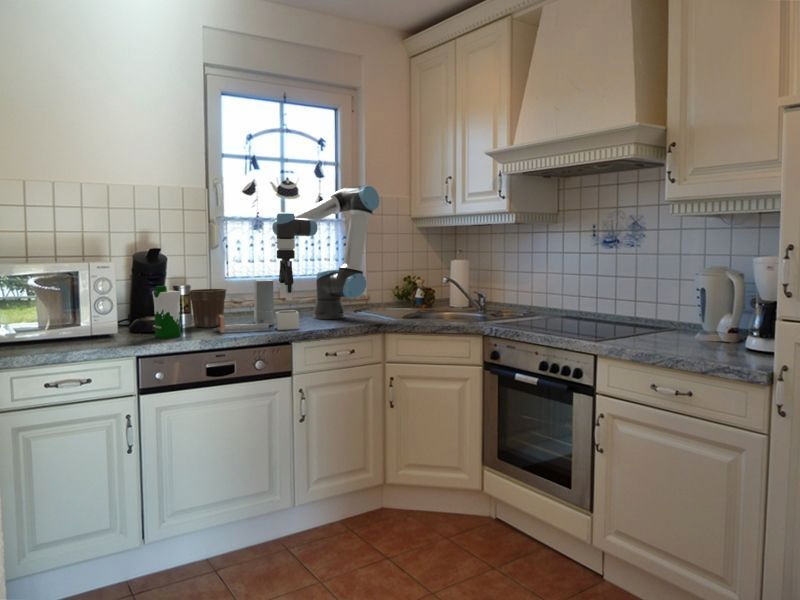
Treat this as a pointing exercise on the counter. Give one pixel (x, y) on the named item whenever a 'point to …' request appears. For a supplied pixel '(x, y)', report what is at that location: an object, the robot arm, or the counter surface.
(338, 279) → the robot arm
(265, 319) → the hard drive box
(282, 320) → the din module
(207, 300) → the plant pot
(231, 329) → the rail dock
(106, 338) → the counter surface
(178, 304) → the milk carton
